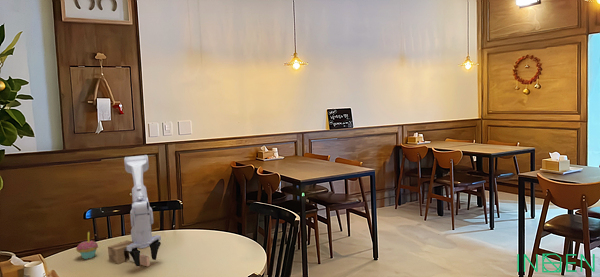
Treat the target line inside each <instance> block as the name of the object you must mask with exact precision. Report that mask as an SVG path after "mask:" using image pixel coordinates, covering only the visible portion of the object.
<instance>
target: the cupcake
mask: <svg viewBox="0 0 600 277" xmlns="http://www.w3.org/2000/svg"><path fill="white" fill-rule="evenodd" d="M98 248H99V246H98V243H97V241H94V240H90V231H88V232H87V240H85V241H82V242H80V243H79V244H77V246H76V248H75V250H76V253H77V252H78V253H79V254H80V256H81V257H82V259H83V258H84V259H83V260H89V259H88V258H90V259H92V257H93V258H94V257H95V255H96V252H97V249H98Z"/></svg>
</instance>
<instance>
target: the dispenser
mask: <svg viewBox="0 0 600 277" xmlns="http://www.w3.org/2000/svg"><path fill="white" fill-rule="evenodd" d="M132 243H134V242H132V240H128V239H126V240H123V241H120V242H118V243H115V244H112V245H111V244H110V245H108V246H107V252H108V261H109V262H112V263H116V264H117V265H119V264H122V263H125V262H126V258H128V259H130V258H129V252H128V251H127V247H126V246H128V245H130V244H132Z"/></svg>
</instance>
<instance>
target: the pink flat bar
mask: <svg viewBox="0 0 600 277" xmlns="http://www.w3.org/2000/svg"><path fill="white" fill-rule="evenodd" d="M128 259H129V262H132V263H135V262H134V260H133V258H132V256H131V255H130V253H129V258H128ZM150 265H151V263H150V256H148V255H145V254H142V253H140V266H143V267H150Z"/></svg>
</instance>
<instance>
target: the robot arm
mask: <svg viewBox="0 0 600 277" xmlns="http://www.w3.org/2000/svg"><path fill="white" fill-rule="evenodd" d="M148 156H149V155H147V154H144V155H143V154H142V155H135V156H125V157H124V158H123V160H124V162H123V163H124V170H125V172H126V173H128V174H131V175H132V181H133V187H132V188H131V197H132V198H131V199H132V203H131V210H130V212H129V213H130V215H129V216H130V227H131V229H130V236H131V237H130V239H131V241H132V242H134V243H132V244H130V245H128V246H126V247H127V251H128V252H129V253H130V255H131V256H132V258H133V260H134V262H133V263H134V266H135V267H138V268H139V267H141V264H140V254H141V250H139V249H145V248H148V247H149V248H150V256H151V260H154V261H156V260H157V256H158V252H159V249H160V246H161V244H162V242H161V241H162V237H161V235H159V234H157V235H156V234H155V235H153V233H152V225H153V224H154V213H153V208H152V207H151V206H150V202H149V198H148V192H147V190H148V189H147V186H146V185H145V184H144V173H145V172H148V171H149V168H150V165H149V164H150V163H149V157H148Z"/></svg>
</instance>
